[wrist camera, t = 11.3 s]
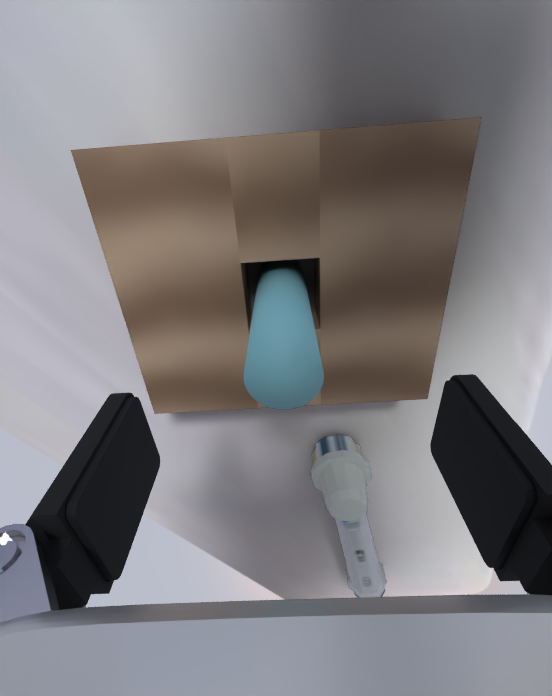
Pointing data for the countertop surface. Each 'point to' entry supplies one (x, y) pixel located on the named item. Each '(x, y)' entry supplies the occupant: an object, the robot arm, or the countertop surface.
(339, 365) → the socket block
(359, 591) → the white handheld massager
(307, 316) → the peg
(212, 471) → the countertop surface
